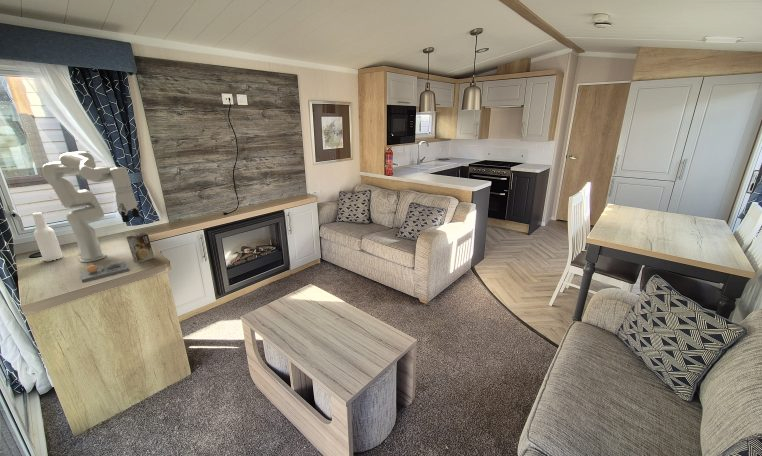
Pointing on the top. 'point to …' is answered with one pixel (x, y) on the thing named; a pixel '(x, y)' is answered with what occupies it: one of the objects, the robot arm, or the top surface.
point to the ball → (92, 268)
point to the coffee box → (140, 247)
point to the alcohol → (46, 239)
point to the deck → (104, 271)
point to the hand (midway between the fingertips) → (131, 219)
